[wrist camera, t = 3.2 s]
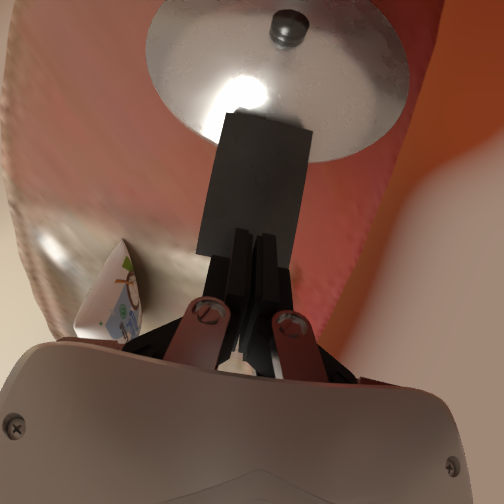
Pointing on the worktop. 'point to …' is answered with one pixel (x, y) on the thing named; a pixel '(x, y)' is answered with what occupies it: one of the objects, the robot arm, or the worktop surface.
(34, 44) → the worktop surface
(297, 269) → the worktop surface
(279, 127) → the cooker lid
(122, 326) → the pouch
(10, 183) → the worktop surface
